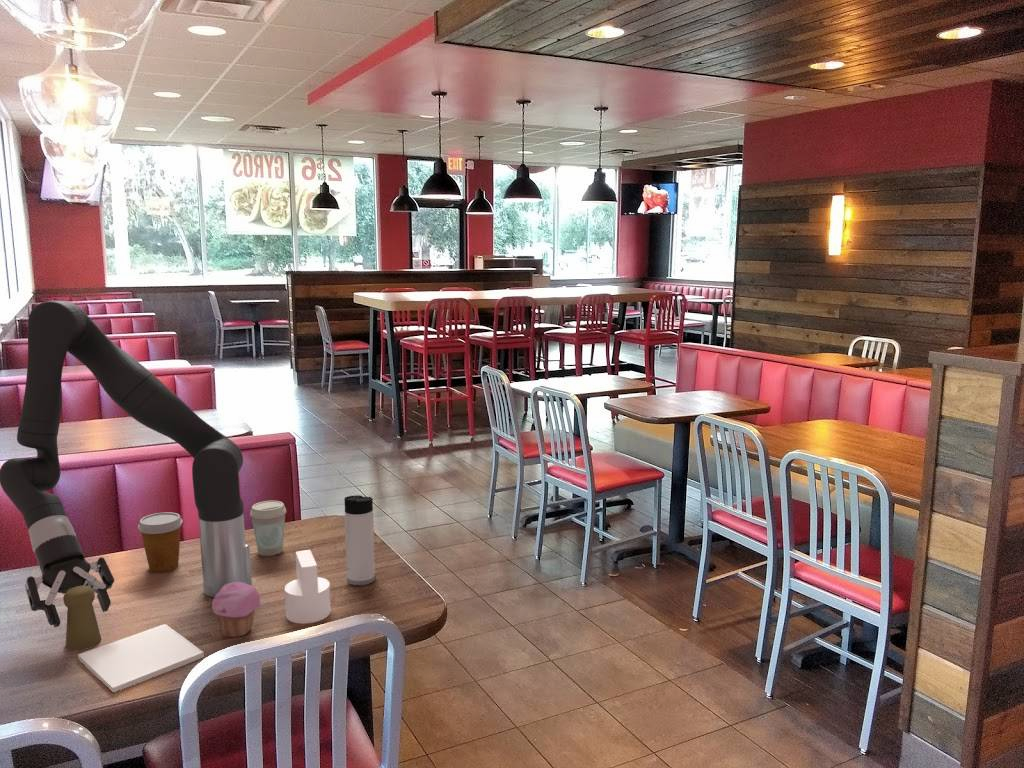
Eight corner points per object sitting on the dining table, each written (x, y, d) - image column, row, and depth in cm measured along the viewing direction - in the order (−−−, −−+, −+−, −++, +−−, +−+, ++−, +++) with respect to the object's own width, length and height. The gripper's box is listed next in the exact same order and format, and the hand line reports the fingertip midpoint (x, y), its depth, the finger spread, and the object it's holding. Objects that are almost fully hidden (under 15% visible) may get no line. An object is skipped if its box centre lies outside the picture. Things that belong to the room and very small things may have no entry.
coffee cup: (247, 558, 189) (244, 511, 187) (258, 545, 197) (255, 499, 195) (282, 558, 189) (280, 511, 187) (292, 545, 197) (290, 499, 195)
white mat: (165, 628, 154) (165, 623, 154) (203, 657, 144) (203, 652, 144) (78, 659, 143) (77, 654, 143) (113, 693, 132) (112, 687, 132)
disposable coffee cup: (194, 564, 185) (190, 516, 183) (157, 578, 177) (153, 528, 175) (169, 555, 190) (166, 508, 188) (133, 569, 182) (128, 520, 180)
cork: (86, 652, 145) (80, 597, 143) (58, 648, 147) (52, 594, 145) (108, 636, 151) (103, 583, 149) (81, 633, 152) (76, 580, 150)
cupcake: (227, 620, 158) (224, 574, 156) (268, 622, 157) (266, 576, 155) (206, 642, 149) (202, 593, 147) (249, 645, 148) (246, 596, 146)
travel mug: (340, 583, 175) (337, 498, 171) (357, 572, 181) (354, 490, 178) (364, 588, 173) (361, 502, 169) (380, 576, 179) (378, 493, 175)
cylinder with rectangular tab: (283, 607, 164) (280, 553, 161) (326, 600, 167) (324, 547, 165) (289, 626, 155) (286, 570, 153) (334, 618, 159) (332, 563, 157)
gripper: (17, 544, 145) (44, 622, 140) (98, 525, 156) (126, 596, 150) (11, 563, 150) (37, 639, 144) (90, 543, 160) (117, 613, 155)
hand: (82, 617), depth 147 cm, fingers open, 8 cm apart
